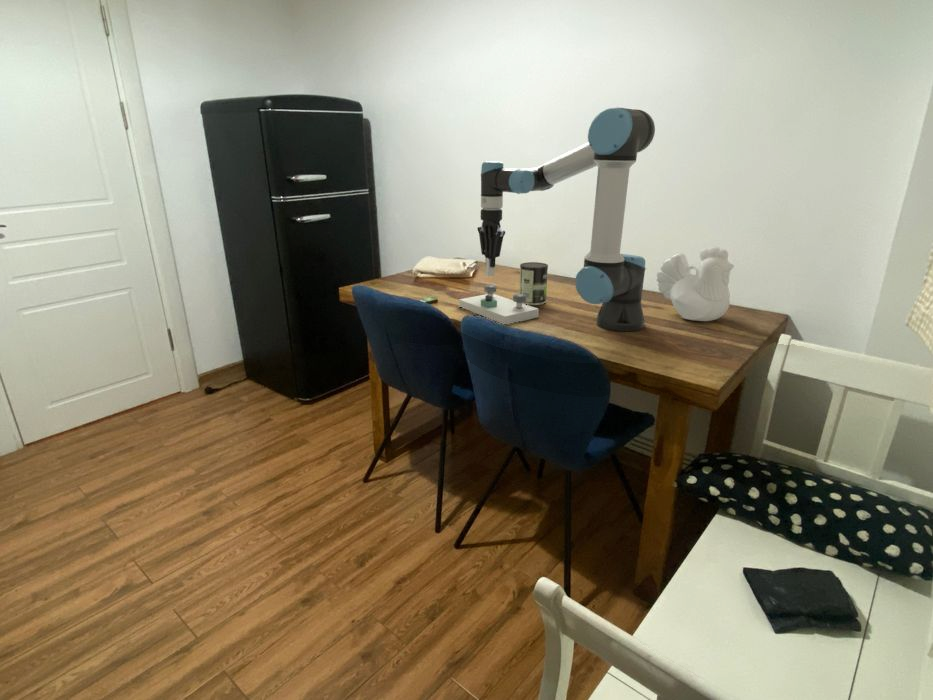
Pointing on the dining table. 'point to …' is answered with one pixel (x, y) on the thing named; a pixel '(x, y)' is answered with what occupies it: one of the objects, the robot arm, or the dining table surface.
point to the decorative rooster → (697, 284)
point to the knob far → (490, 289)
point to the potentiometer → (488, 302)
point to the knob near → (519, 300)
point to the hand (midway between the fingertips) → (490, 275)
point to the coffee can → (533, 282)
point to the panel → (500, 309)
